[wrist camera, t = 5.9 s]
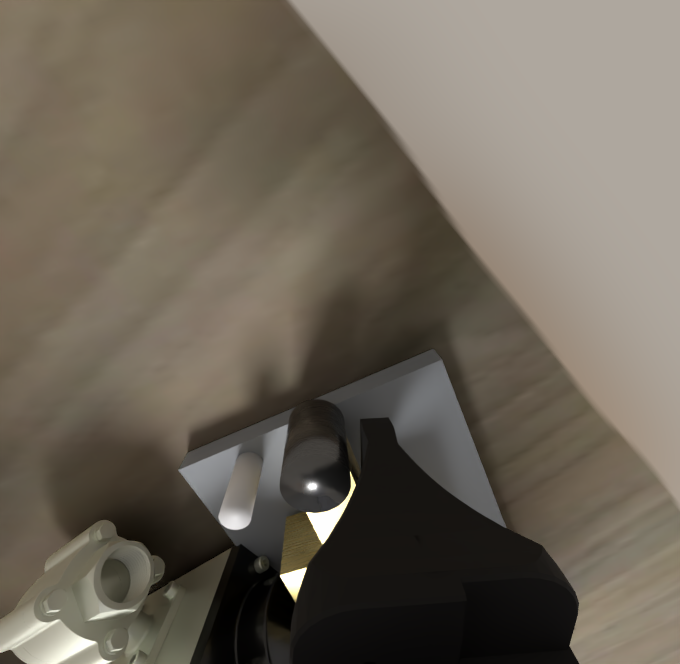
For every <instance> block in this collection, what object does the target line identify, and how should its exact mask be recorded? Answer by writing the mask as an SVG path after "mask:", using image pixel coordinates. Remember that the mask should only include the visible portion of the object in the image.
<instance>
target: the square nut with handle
mask: <svg viewBox="0 0 680 664" xmlns="http://www.w3.org/2000/svg"><path fill="white" fill-rule="evenodd" d="M360 472H361V471H360V468H359V466H358V463H357V461H356V458H355V456H354V453H353V451H352V448H351V446H350V444H349V441H348V439H347V436H346V431H345V421H344V417H343V414H342V412H341V411H340V409H339V408H338V407H337V406H336V405H334V404H333V403H331V402H329V401H326V400H321V399H313V400H308V401H305V402H303V403H301V404H299V405H298V406H297V407H296V408H294V410H293V411H292V413H291V414H290V417H289V421H288V428H287V435H286V442H285V449H284V456H283V463H282V470H281V477H280V492H281V494H282V497H283V498H284V500H285V501H286V502H287V503H288V504H289V505H290V506H292V507H293V508H295V509H297V510H300V511H303V512H301V513H297V514H294V515H291V516H288V517H286V524H285V533H284V543H283V552H282V561H281V571H280V577H281V578H282V580H283V582H284V583H285V585H286V587H287V589H288V590H289V592H290V594H291V596H292V597H293V599H294V601H295V603H296V599H297V595H298V592H299V589H300V586H301V583H302V580H303V577H304V574H305V571H306V569H307V566H308V563H309V562H310V560H311V559H312V558H313V556H314V555H315V554H316V553H317V551H318V550H319V549H320V547H321V546H322V545H323V543H324V542H325V541H326V539H327V538H328V536H329V535H330V533H331V532H332V530H333V528H334V527H335V525H336V523H337V522H338V520H339V519H340V517H341V515H342V513H343V512H344V510H345V508H346V506H347V504H348V502H349V500H350V497H351V495H352V493H353V491H354V488H355V486H356V483H357V481H358V478H359V475H360Z"/></svg>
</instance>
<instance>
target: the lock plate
mask: <svg viewBox="0 0 680 664" xmlns="http://www.w3.org/2000/svg"><path fill="white" fill-rule="evenodd" d="M315 399H321V400H326V401H329V402H331V403H333V404H334V405H336V406H337V407H338V408H339V409H340V411H341V412H342V414H343V417H344V421H345V431H346V436H347V439H348V441H349V444H350V446H351V448H352V451H353V453H354V456H355V458H356V461H357V463H358V466H359V468H360V471H361V441H360V419H367V418H385V417H389V419H390V421H391V422H392V424H393V426H394V429H395V433H396V438H397V442H398V444H399V445H400V446H401V447H402V448H403V450H404V451H405V452H406V453H407V454H408V455H409V456H410V457H411V458H412V459H413V460H414V462H415V463H416V464H417V465H418V466H419V467H420V468H422V469H423V470H424V471H425V472H426V473H427V474H428V475H429V476H430V477H431V478H432V479H433V480H434V481H436V482H437V483H438V484H439V485H440V486H442V487H443V488H444V489H445V490H447V491H448V492H449V493H451V494H452V495H453V496H455V497H456V498H458V499H459V500H461V501H462V502H464V503H465V504H466V505H468V506H469V507H471V508H472V509H474V510H476V511H477V512H479V513H480V514H482V515H484V516H485V517H487V518H489V519H491V520H492V521H494V522H496V523H498V524H499V525H501V526H503V527H505V528H506V525H505V523H504V520H503V518H502V515H501V512H500V510H499V507H498V505H497V502H496V499H495V497H494V494H493V491H492V489H491V486H490V484H489V481H488V478H487V476H486V473H485V471H484V468H483V465H482V463H481V460H480V458H479V455H478V452H477V450H476V447H475V444H474V442H473V439H472V437H471V434H470V431H469V429H468V426H467V424H466V421H465V418H464V416H463V413H462V411H461V408H460V405H459V403H458V400H457V397H456V395H455V392H454V390H453V387H452V384H451V382H450V379H449V377H448V374H447V371H446V369H445V366H444V364H443V361H442V359H441V358H440V356H439V355H438V354H437V352H436V351H435V350H434V349H431V350H429V351H426V352H424V353H422V354H419V355H417V356H415V357H412V358H410V359H408V360H405V361H403V362H400V363H398V364H396V365H393V366H391V367H389V368H386V369H384V370H382V371H379V372H377V373H374V374H372V375H370V376H367V377H365V378H363V379H360V380H358V381H356V382H353V383H351V384H348V385H346V386H344V387H341V388H339V389H337V390H334V391H332V392H330V393H327V394H325V395H322V396H320V397H318V398H315ZM296 407H297V406H296ZM296 407H294V408H296ZM294 408H292V409H289V410H287V411H285V412H282V413H280V414H278V415H275V416H273V417H270V418H268V419H266V420H263V421H261V422H259V423H256V424H254V425H252V426H249V427H247V428H244V429H242V430H240V431H237V432H235V433H233V434H230V435H228V436H226V437H223V438H221V439H219V440H216V441H214V442H211V443H209V444H207V445H204V446H202V447H200V448H197V449H195V450H193V451H190V452H188V453H187V454H186V456H185V458H184V460H183V462H182V464H181V466H180V468H179V472H180V473H181V474H182V476H183V477H184V478H185V479H186V481H187V482H188V483H189V485H190V486H191V487H192V489H193V490H194V491H195V493H196V494H197V495H198V497H199V498H200V499H201V500H202V502H203V503H204V504H205V506H206V507H207V508H208V510H209V511H210V512H211V514H212V515H213V516H214V518H215V519H216V520H217V521H218V523H219V524H220V525H221V527H222V528H223V529H224V531H225V532H226V533H227V535H228V536H229V537H230V539H231V540H232V541H233V543H234V544H235V545H236V546H238V545H240V544H242V545H243V546H245V547H246V548H247V549H249V550H250V551H251V552H253V553H254V554H255V555H257V556H258V557H261V556H266V557H267V558H268V560H269V565H270V566H271V567H272V568H274V569H275V570H276V571H278V572H280V571H281V561H282V552H283V543H284V533H285V524H286V517H288V516H291V515H294V514H297V513H301V512H303V511H300V510H297V509H295V508H293V507H292V506H290V505H289V504H288V503H287V502H286V501H285V500H284V498H283V497H282V494H281V492H280V477H281V470H282V463H283V456H284V449H285V442H286V435H287V428H288V421H289V417H290V414H291V413H292V411H293V410H294Z"/></svg>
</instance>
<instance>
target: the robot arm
mask: <svg viewBox="0 0 680 664" xmlns="http://www.w3.org/2000/svg"><path fill="white" fill-rule="evenodd" d="M360 441H361V472H360V475H359V478H358V481H357V483H356V486H355V488H354V491H353V493H352V495H351V497H350V500H349V502H348V504H347V506H346V508H345V510H344V512H343V513H342V515H341V517H340V519H339V520H338V522H337V523H336V525H335V527H334V528H333V530H332V532H331V533H330V535H329V536H328V538H327V539H326V541H325V542H324V543H323V545H322V546H321V547H320V549H319V550H318V551H317V553H316V554H315V555H314V556H313V558H312V559H311V560H310V562H309V563H308V566H307V569H306V571H305V574H304V577H303V580H302V583H301V586H300V589H299V592H298V595H297V599H296V603H295V607H294V611H293V616H292V622H291V634H290V654H289V658H290V664H579V663H578V661H577V659H576V657H575V655H574V654H573V652H572V650H571V648H570V646H569V645H570V641H571V637H572V634H573V630H574V626H575V623H576V619H577V616H578V606H579V602H578V599H577V596H576V593H575V591H574V590H573V588H572V586H571V585H570V583H569V582H568V580H567V579H566V577H565V576H564V574H563V573H562V571H561V570H560V568H559V567H558V566H557V564H556V563H555V562H554V560H553V559H552V558H551V557H550V555H549V554H548V553H547V552H546V550H545V549H544V547H543V546H542V545H540V544H538V543H536V542H534V541H532V540H530V539H527V538H525V537H523V536H521V535H519V534H517V533H515V532H513V531H511V530H509V529H507V528H505V527H503V526H501V525H499V524H498V523H496V522H494V521H492V520H491V519H489V518H487V517H485V516H484V515H482V514H480V513H479V512H477V511H476V510H474V509H472V508H471V507H469V506H468V505H466V504H465V503H464V502H462V501H461V500H459V499H458V498H456V497H455V496H453V495H452V494H451V493H449V492H448V491H447V490H445V489H444V488H443V487H442V486H440V485H439V484H438V483H437V482H436V481H434V480H433V479H432V478H431V477H430V476H429V475H428V474H427V473H426V472H425V471H424V470H423V469H422V468H420V467H419V466H418V465H417V464H416V463H415V462H414V460H413V459H412V458H411V457H410V456H409V455H408V454H407V453H406V452H405V451H404V450H403V448H402V447H401V446H400V445H399V444H398V442H397V438H396V433H395V429H394V426H393V424H392V422H391V421H390V419H389V417H385V418H367V419H360Z"/></svg>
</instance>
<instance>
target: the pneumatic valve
mask: <svg viewBox="0 0 680 664" xmlns="http://www.w3.org/2000/svg"><path fill="white" fill-rule="evenodd" d="M164 570H165V564H164V561H163V560H162V559H161V558H160V557H158V556H155V555H153V556H151V554H150V552H149V551H148V549H147V548H146V546H145V545H144V544H143V543H141V542H137V541H128V540H126V539H124V538H122V537H119V536H118V535H117V532H116V527H115V526H114V524H113V523H112V522H110V521H108V520H101V521H98V522H96V523H95V524H93V525H92V526H91V527H89V528H88V529H87V530H85V531H84V532H82V533H81V534H80V535H78V536H77V537H76V538H74V539H73V540H71V541H70V542H69V543H67V544H66V545H64V546H63V547H62V548H60V549H59V550H58V551H56V552H55V553H53V554H52V555H51V556H50V557H49V558H48V559H47V561H46V563H45V573H44V574H43V576H41V577H40V578H39V579H38V580H37V581H36V582H35V583H34V584H33V585H32V586H31V587H30V588H29V589H28V590H27V591H26V593H25V594H24V595H23V597H22V598H21V599H20V601H19V602H18V604H17V606H16V607H15V609H14V610H13V611H12V612H10V613H9V614H7V615H6V616H4V617H3V618H1V619H0V653H2V652H4V651H7V650H12V651H13V652H14V654H15V655H16V656H17V657H18V658H19V659H21V660H22V661H23V662H25V663H27V664H290V658H289V654H290V634H291V622H292V616H293V611H294V607H295V601H294V599H293V597H292V596H291V594H290V592H289V590H288V589H287V587H286V585H285V583H284V582H283V580H282V578H281V577H280V572H278V571H276V570H275V569H274V568H272V567H271V566H270V565H269V560H268V558H267V557H266V556H261V557H258V556H257V555H255V554H254V553H253V552H251V551H250V550H249V549H247V548H246V547H245V546H243V545H242V544H240V545H238V546H236V545H235V546H233V547H232V548H230V549H228V550H227V551H225V552H223V553H221V554H220V555H218V556H216V557H214V558H213V559H211V560H209V561H207V562H206V563H204V564H202V565H201V566H199V567H197V568H195V569H194V570H192V571H190V572H188V573H187V574H185V575H183V576H181V577H180V578H178V579H176V580H175V581H170V582H169V583H168V584H167V585H166V586H164V587H162V588H161V589H159V590H157V591H155V592H154V593H152V594H150V595H149V596H147V595H148V592H149V589H150V587H151V586H152V585H153V584H155V583H157V582H158V581H159V580H161V578H162V577H163V574H164Z"/></svg>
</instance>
